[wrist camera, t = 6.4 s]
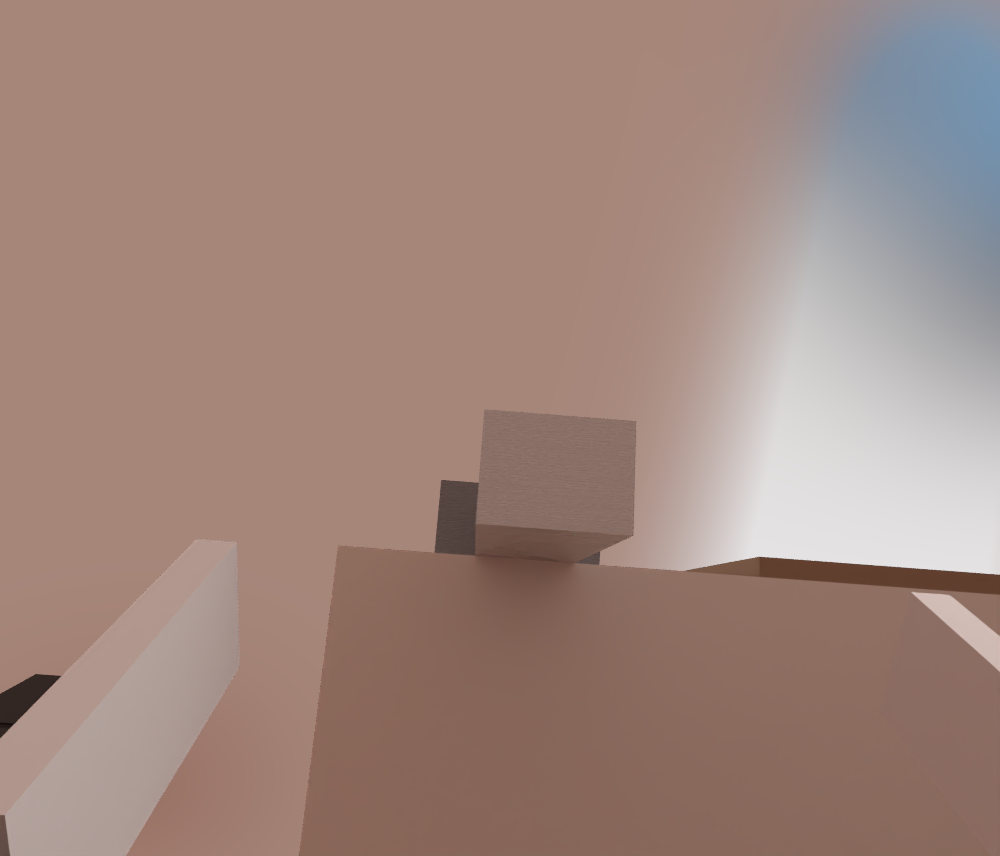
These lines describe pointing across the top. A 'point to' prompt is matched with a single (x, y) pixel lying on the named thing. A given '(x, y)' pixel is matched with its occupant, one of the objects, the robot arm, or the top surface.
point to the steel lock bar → (543, 490)
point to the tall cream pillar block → (621, 710)
